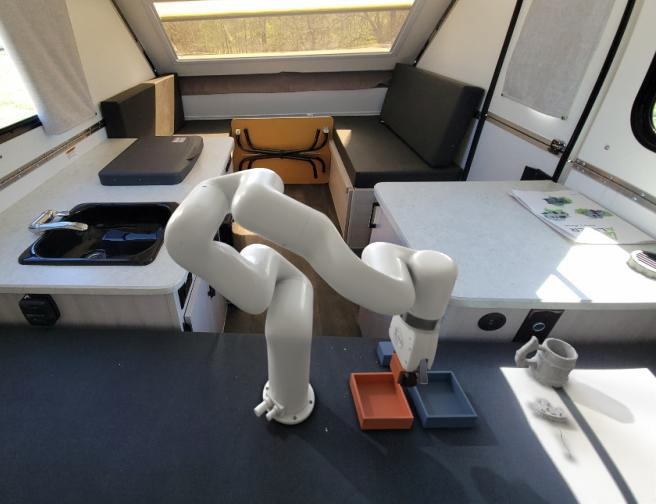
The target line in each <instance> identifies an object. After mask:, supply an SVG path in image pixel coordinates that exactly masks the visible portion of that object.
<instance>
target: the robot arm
mask: <svg viewBox="0 0 656 504" xmlns="http://www.w3.org/2000/svg"><path fill="white" fill-rule="evenodd" d="M284 192H285V185H284V181H283V179H282V178H281V176H280V175H279V174H278V173H276V171H273V170H271V169H269V168H263V167H260V168H259V167H257V168H250V169H245V170H241V171H235V172H232V173H229V174H223V175H219V176H215V177H211V178H208V179H205V180H203V181H201V182H199V183H198V184H196V185H195V186H194V187H193V188H192V189H191V191H190V192H189V193H188V194H187V195H186V196H185V198H184V199H183V200H182V202H181V203H180V204H179V205H178V207H176V208H175V210H174V211H173V213H172V214H171V216H170V217H169V219H168V221H167V224H166V226H165V230H164V233H163V234H164V235H163V241H164V246H165V250H166V252H167V254H168V255H169V257H170V258H171V260H172V261H173V262H174V263H175V264H176V265H178V266H179V267H180V268H182V269H184V270H185V271H187V272H189V273H191V274H193V275H194V276H196V277H198V278H199V279H201V280H202V281H204V282H205V283H206V284H207V285H209V286H210V287H211V288H213V289H214V290H215V291H216V292H218V293H219V294H220V295H221V296H223V297H224V298H226V300H227V301H229V302H230V303H231V304H233V305H234V306H236V307H237V308H239V309H240V310H241V311H243V312H245V313H247V314H248V315H249V314H250V315H254V316H255V315H260V314H263V313H264V312H266V310H267V312H266V316H265V317H266V318H265V324H264V334H265V335H264V336H265V339H266V349H267V369H268V370H267V371H268V372H267V373H268V380H267V381H266V383H265V384H264V388H263V391H262V402H261V403H259V404H258V405H257V406H256V407H255V408H253V412H254V414H255V415H256V417H258V418H259V417H262V415H263V414H264V413H265V412H267V413H266V414H265V418H266V420H267V421H269V422H270V421H271V420H272V419H273V420H275V421H276V422H278V423H281V424H284V425H297V424H299V423H303V422H304V421H305V420H307V419H308V418H309V416H310V415H311V414H312V412H313V409H314V408H315V407H314V406H315V392H314V389H313V387H312V385H311V383H310V371H311V370H310V369H311V353H312V351H311V349H312V341H313V323H314V287H313V284H312V282H311V280H310V279H309V278H308V277H307V275H305V274H304V273H303V272H302V271H300V269H299V268H297V267H296V266H295V265H294V264H293V263H291V262H290V261H289V260H288V259H287V258H285V257H284V256H283V255H282V254H281V253H280V252H278V251H277V250H275V248H272V247H270V246H268V245H266V244H262V243H253V244H248V245H247V246H245V247H244V248H243V249H241V250H240V252H238V250H236V249H235V247H233V246H231V245H229V244H227V243H226V242H222V241H217V240H214V238H215V237H216V234H217V233H218V230H219V228H220V227H221V225H222V223H223V222H224V220H225V218H226V216H227V215H229V214H231V216H232V219H233V221H234V222H235V223H236V224H237V225H238V226H240V227H241V228H242V229H244V230H245V231H248V232H250V233H252V234H254V235H257V236H259V237H260V238H262V239H264V240H266V241H268V242H271V243H273V244H275V245H277V246H279V247H281V248H284V249H286V250H287V251H289V252H292V253H293V254H295V255H297V256H299V257H301V258H303V259H304V260H305V261H307V263H308V264H309V265H310V266H311V268H312V269H313V270H314V271H315V273H317V274H318V275H319V276H320V277H321V278H322V279H323V281H325V282H326V283H327V284H328V286H329V287H331V289H333V290H334V291H335V292H336V293H337V294H338V295H340V296H342V297H343V298H344V299H346V300H348V301H350V302H352V303H354V304H356V305H358V306H360V307H362V308H364V309H366V310H368V311H370V312H373V313H376V314H379V315H384V316H391V317H392V319H391V320H390V321H391V322H390V325H389V329H388V335H389V338H390V342H392V344H393V346H394V349H395V351H394V352H393V353H396V354H397V356H398V358H399V361H400V363H401V365H402V367H403V368H404V369H405V372H402V376H401V380H400V383H399V384H400V386H401V387H402V388H404V387H405V388H407V387H409V388H411V387H415V386H416V384H417V382H418V383H419V384H420V385H428V379H427V372H428V371H431V368H432V367H433V364H434V360H435V358H436V357H435V356H436V352H437V350H438V349H437V348H438V342H439V333H440V331H439V330H440V328H441V327H442V324H443V321H444V318H445V316H446V313H447V309H448V305H449V303H450V299H451V297H452V293H453V291H454V289H455V284H456V281H457V278H458V275H459V268H458V267H459V266H458V264H457V262H456V261H455V260H454V259H453V258H451V257H450V256H449V255H448V254H445V253H443V252H442V251H438V250H433V249H422V250H418V249H414V248H410V247H406V246H402V245H398V244H395V243H393V242H392V243H391V242H386V241H385V242H384V241H377V242H375V241H374V242H371V243H370V244H368V245H366V246H365V247H364V249H363V250H362V252H361V258H360V257H358V255H356V253H354V251H353V250H352V249H351V248H350V247H349V246H348V244H347V243H346V242H345V241H344V239H343V237H342V235H341V234H340V232H339V231H338V229H337V227H336V226H335V224H334V223H333V221H332V220H331V219H330V218H329V217H328V216H327V215H326V214H325V213H323V212H322V211H318V210H317V209H314V208H313V207H310V206H308V205H306V204H304V203H302V202H300V201H298V200H296V199H294V198H292V197H290V196H288V195H287V194H284ZM415 369H416V370H415Z"/></svg>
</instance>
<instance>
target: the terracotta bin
mask: <svg viewBox="0 0 656 504" xmlns="http://www.w3.org/2000/svg"><path fill="white" fill-rule="evenodd" d="M349 386H350V390H351V393H352V397H353V398H352V399H353V402H354V406H355V409H356V414H357V417H358V421H359V425H360V429H361V430H398V429H399V430H400V429H401V430H405V429H407V430H409V429H411V428H412V425H413V421H414V419H415V418H414V415H413V412H412V410H411V408H410V405H409V402H408V400H407V398H406V395H405V393H404V390H403V387H401V386H400V384H396V381H395V378H394V376H393V373H392V371H391V372H389V371H388V372H386V371H385V372H351V373H350V378H349Z"/></svg>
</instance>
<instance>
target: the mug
mask: <svg viewBox="0 0 656 504" xmlns="http://www.w3.org/2000/svg"><path fill="white" fill-rule="evenodd" d="M535 351H536V353H535V355H534V356H533V357H531V358H526V357H527V355H528V354H530V353H533V352H535ZM578 359H579V354H578V352H577V351H576V349H575V348H574V347H573V346H572V345H571V344H569V343H568V342H566V341H564V340H562V339H559V338H554V337H549V338H545V339H544V341H543V343H542V344H540V342H539V339H538V338H537V337H536V336H535V335H532V336H531V338H530V340H529V341H527V342H526V343H525V344H524V345H522V346H521V347H520V348H519V349H517V350H516V352H515V355H514V361H515V364H516V366H517V368H519V369H520V368H526V367H528V370H529V372H530V374H531V376H532V377H533V378H534V379H536V380H537V381H539V383H541V384H543V385H545V386H547V387H550V388H552V387H553V388H562V387H564V386H565V385H567V383H568V382H569V379H570V377H569V376H570V374H571V372H572V371H574V369H575V368H576V363H577V360H578Z"/></svg>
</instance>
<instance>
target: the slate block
mask: <svg viewBox="0 0 656 504" xmlns="http://www.w3.org/2000/svg"><path fill="white" fill-rule="evenodd" d="M394 351H395V349H394V346H393V344H392V341H379V342H378V344H377V350H376V353H377V357H378V359H379V361H380V364H381V366H383V367H384V366H390V363H391V359H392V355H393V352H394Z"/></svg>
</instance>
